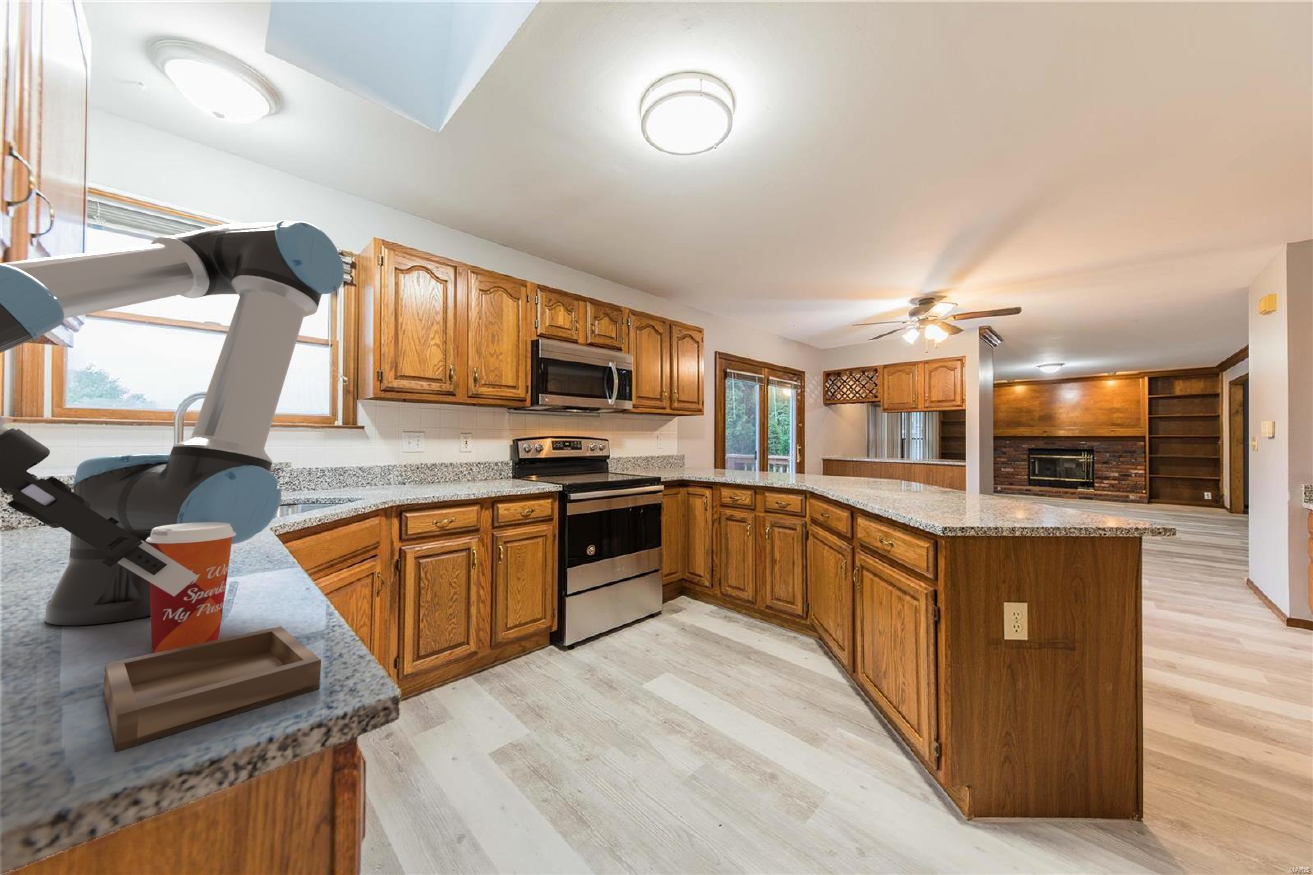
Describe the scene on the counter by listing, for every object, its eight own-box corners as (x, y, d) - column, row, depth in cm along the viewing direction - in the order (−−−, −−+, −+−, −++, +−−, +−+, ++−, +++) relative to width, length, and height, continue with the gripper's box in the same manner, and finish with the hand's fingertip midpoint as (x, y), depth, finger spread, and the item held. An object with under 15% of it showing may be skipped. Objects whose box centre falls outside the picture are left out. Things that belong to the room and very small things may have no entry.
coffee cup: (172, 663, 56) (181, 532, 56) (119, 655, 57) (127, 528, 58) (247, 636, 64) (254, 523, 64) (198, 630, 65) (205, 519, 66)
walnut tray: (103, 693, 49) (105, 663, 49) (279, 650, 60) (280, 626, 60) (115, 752, 40) (117, 714, 40) (319, 688, 51) (321, 659, 51)
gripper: (-85, 471, 51) (114, 584, 63) (-92, 486, 38) (164, 626, 50) (3, 425, 56) (173, 538, 68) (25, 423, 42) (233, 565, 54)
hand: (169, 576), depth 59 cm, fingers open, 13 cm apart
